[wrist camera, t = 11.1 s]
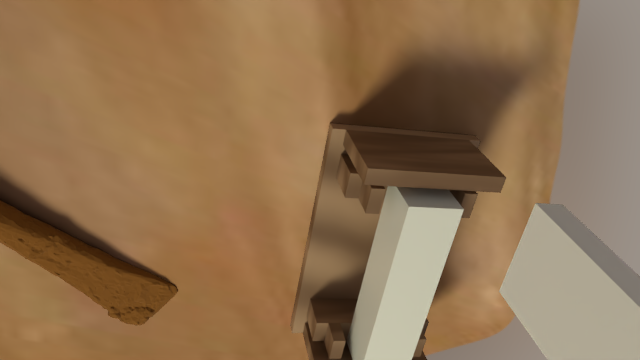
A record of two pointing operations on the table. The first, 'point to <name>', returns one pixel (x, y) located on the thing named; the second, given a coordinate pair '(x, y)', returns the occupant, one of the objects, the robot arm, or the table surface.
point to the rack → (371, 217)
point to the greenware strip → (403, 272)
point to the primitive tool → (86, 267)
